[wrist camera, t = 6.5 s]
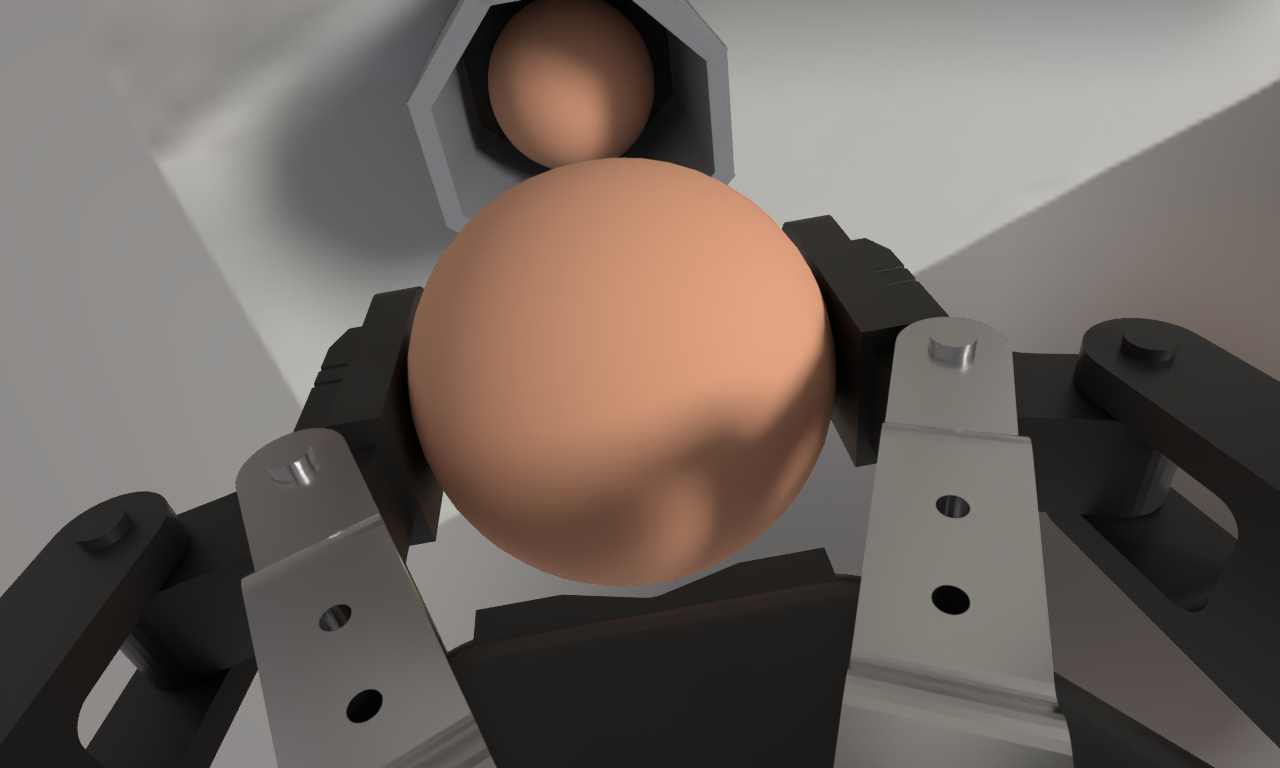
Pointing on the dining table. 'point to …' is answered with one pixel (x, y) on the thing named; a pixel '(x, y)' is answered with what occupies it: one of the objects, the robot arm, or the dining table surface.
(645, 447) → the ball
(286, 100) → the dining table surface
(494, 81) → the ball in tube
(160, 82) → the dining table surface
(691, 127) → the tube
